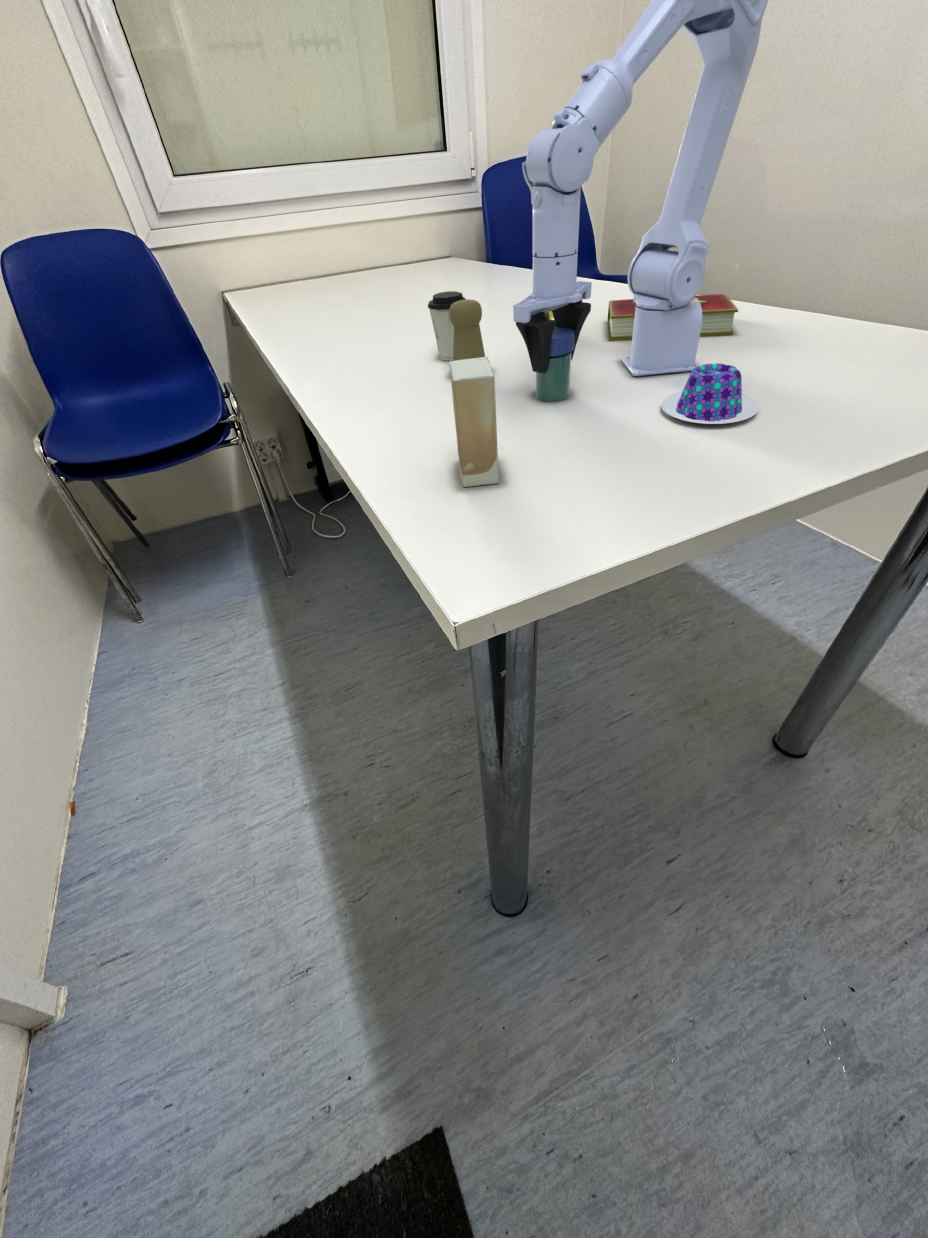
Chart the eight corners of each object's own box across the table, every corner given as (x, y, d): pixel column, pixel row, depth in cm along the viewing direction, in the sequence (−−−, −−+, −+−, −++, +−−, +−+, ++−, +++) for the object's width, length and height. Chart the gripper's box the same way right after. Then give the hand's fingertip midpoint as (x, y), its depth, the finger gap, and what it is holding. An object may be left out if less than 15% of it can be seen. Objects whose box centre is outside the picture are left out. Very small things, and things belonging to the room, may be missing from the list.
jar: (566, 387, 83) (568, 330, 78) (572, 399, 79) (574, 340, 74) (533, 391, 83) (533, 334, 78) (538, 403, 79) (538, 344, 74)
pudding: (726, 389, 77) (735, 349, 74) (776, 420, 68) (789, 377, 65) (645, 401, 76) (650, 362, 73) (685, 435, 67) (693, 392, 64)
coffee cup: (427, 361, 99) (419, 299, 92) (443, 350, 103) (436, 289, 97) (462, 363, 96) (457, 299, 90) (476, 350, 101) (472, 289, 94)
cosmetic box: (458, 464, 67) (448, 359, 59) (493, 460, 67) (487, 354, 59) (462, 489, 62) (451, 378, 54) (500, 484, 62) (494, 373, 54)
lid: (531, 345, 79) (531, 328, 78) (571, 341, 79) (571, 325, 77) (534, 357, 75) (534, 340, 74) (576, 353, 75) (577, 336, 73)
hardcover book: (607, 322, 107) (609, 298, 104) (720, 316, 103) (725, 291, 101) (608, 340, 99) (610, 314, 96) (732, 334, 95) (738, 307, 92)
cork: (484, 380, 89) (480, 304, 81) (448, 381, 90) (441, 306, 83) (491, 367, 93) (487, 294, 86) (456, 368, 94) (450, 296, 87)
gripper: (544, 266, 64) (543, 385, 73) (613, 244, 71) (604, 355, 80) (499, 263, 67) (503, 376, 76) (569, 242, 75) (565, 348, 84)
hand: (552, 365), depth 78 cm, fingers closed on lid, 5 cm apart
